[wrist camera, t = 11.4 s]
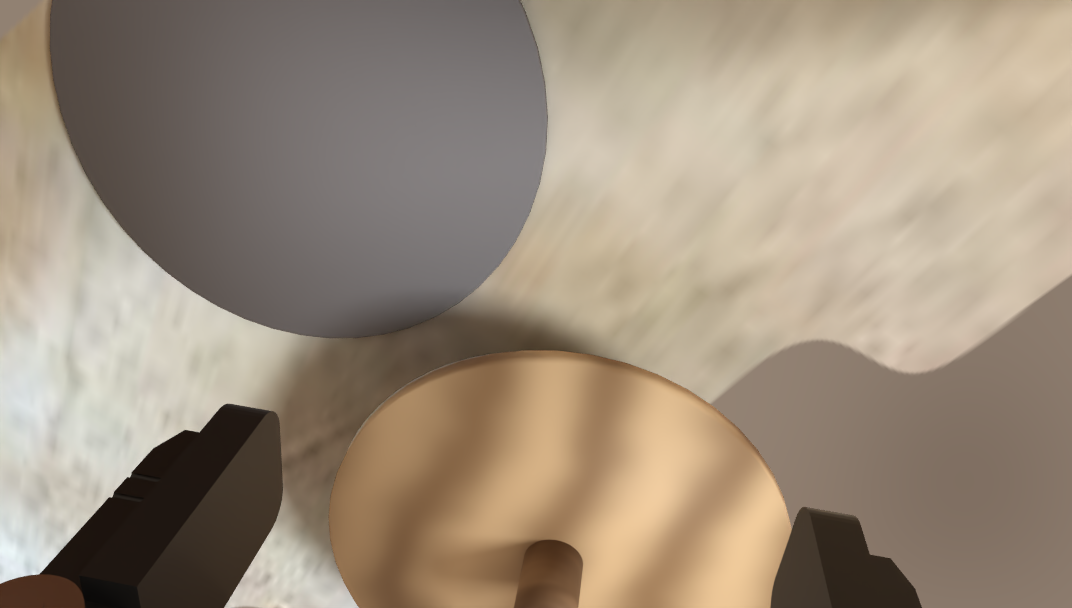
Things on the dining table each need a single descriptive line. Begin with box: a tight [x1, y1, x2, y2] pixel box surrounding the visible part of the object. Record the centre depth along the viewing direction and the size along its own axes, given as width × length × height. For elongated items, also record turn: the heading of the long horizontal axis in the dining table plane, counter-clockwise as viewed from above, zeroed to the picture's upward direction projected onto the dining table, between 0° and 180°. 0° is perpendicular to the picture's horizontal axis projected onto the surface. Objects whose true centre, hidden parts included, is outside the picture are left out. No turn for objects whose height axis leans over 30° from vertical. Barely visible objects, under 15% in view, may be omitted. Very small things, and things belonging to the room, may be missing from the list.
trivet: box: [50, 0, 548, 338], centre depth 41 cm, size 26×26×1 cm
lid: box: [329, 350, 792, 608], centre depth 41 cm, size 25×25×7 cm
